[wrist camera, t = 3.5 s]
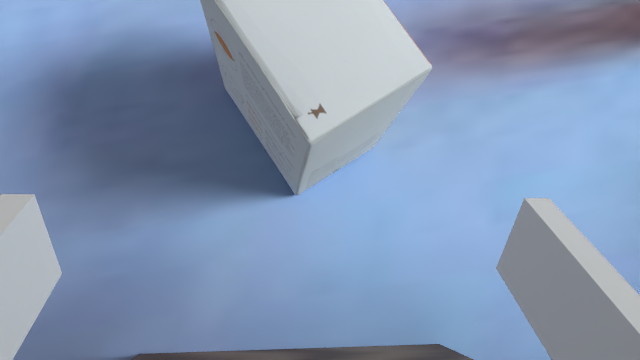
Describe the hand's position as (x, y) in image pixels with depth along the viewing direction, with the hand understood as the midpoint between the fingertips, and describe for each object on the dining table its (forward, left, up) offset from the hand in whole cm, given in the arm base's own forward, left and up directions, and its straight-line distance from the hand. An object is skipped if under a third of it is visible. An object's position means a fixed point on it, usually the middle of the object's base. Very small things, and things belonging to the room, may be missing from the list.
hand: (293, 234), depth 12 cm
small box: (-1, -8, -12) cm, 15 cm away
